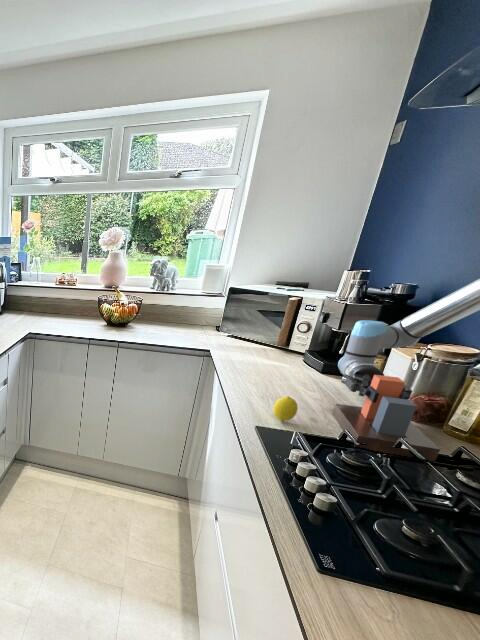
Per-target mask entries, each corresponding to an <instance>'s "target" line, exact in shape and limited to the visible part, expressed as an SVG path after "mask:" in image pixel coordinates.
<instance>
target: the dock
mask: <svg viewBox="0 0 480 640" xmlns="http://www.w3.org/2000/svg"><path fill="white" fill-rule="evenodd" d="M362 407H363V406H356V405H355V406H354V405H347V404H342V403H334V407H333V409H332V413H331V415H332V416H333V417H334V419H335V421H336V422H337V424H338V425H339V426H340V428H341V430H342V431H343V430H348V431H349V432H350V434H352V436H353V437H354V439H355V440H356V442H357V443H365V444H367V445H355V444H354V446H353V448H354V447H360V448H366V449H369V450H368V451H371V450H373V451H372V452H377V451H378V452H377V453H382V452H383V453H382V454H388V453H389V454H388V455H393V454H395V455H394V456H399V455H401V456H400V457H404V456H407V457H406V458H410V457H413V455H412V454H411V453H410V452H409V451H408V450H407V449H402V448H395V447H393V446H394V445H395V443H396V442H397V440H398V439H399V438H401V437H399V436H393V435H387V434H381V433H376V432H375V431H374V429H373V428H372V424H373V422H374V420H371V419H365V418H364V417H363V416H362V414H361V410H362ZM402 438H403V439H404V440H405V441H407V442H408V443H409V444H410V445H411V446H412V447H413V448H414V449H416V450H417V452H418V453H420V454H421V455H422V456H423V457H425V458H426V459H427V460H429V461H428V462H433V463H435V462H436V460H437V458H438V456H439V453H440V451H441V449H440V448H439V446H437V445H436V444H435V443H434V442H433V441H432V440H431V439H430V438H429V437H428V436H426V434H424V433H423V431H421V430H420V429H419V428H418V427H417V425H415V424H414V423H413V421H410V424H409V426H408V429H407V431H406V434H405V436H404V437H402ZM360 448H359V449H360Z"/></svg>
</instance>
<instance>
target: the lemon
mask: <svg viewBox="0 0 480 640" xmlns="http://www.w3.org/2000/svg"><path fill="white" fill-rule="evenodd" d="M272 408H273V409H272V412H273V415H274V416H275V418H277V419H278V420H279V421H280V422H285V421H289V420H292V419H293V418H294V417H295V416H296V415H297V413H298V403H297V401H296V400H295V399H294V398H292V397H291V396H289V395H287V396H283V397H280V398H278V399H277V400H276V401H275V403H274V405H273V407H272Z"/></svg>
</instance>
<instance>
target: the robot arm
mask: <svg viewBox="0 0 480 640" xmlns="http://www.w3.org/2000/svg"><path fill="white" fill-rule="evenodd" d="M479 311H480V278H478V279H475V281H472V282H470V283H469V284H466V285H465V286H463V287H461V288H459V289H457V290H455V291H453V292H451V293H449V294H447V295H446V296H444V297H442V298H440V299H438V300H436V301H434V302H433V303H431V304H429V305H427V306H426V307H423V308H421V309H419V310H417V311H416V312H414V313H412V314H410V315H408V316H406V317H404V318H403V319H400V320H398V321H397V322H395V323H392V324H391V325H388V324H387V323H386V322H384V321H380V320H379V321H378V320H368V319H367V320H365V319H362V320H358V321H356V322H355V324H354V326H353V328H352V330H351V333H350V337H349V339H348V343H347V347H346V350H345V352H344V355H343V356H342V357H341V358H340V359H339V360H338V362H337V367H338V370H339V372H340V374H342V378H341V381H340V382H341V384H344V385H345V386H346V387H347V389H348V390H349V391H350V392H352V393H356V392H359V393H358V396H360V397H366V396H367V397H368V398H369V399H370V400H371V401H372V402H375V403H376V401H377V399H378V396H379V393H378V392H377V391H376V390H375V389H374V388H373V387H372V386H370V385H371V382H372V379H373V377H374V375H382V376H385V373H384V372H383V371H382V370H381V369H380V368H379V367H378V366H376V365H374V363H375V361H376V358H377V356H378V353H379V350H387V349H399V348H398V347H404V348H407V346H408V347H411V346H414V345H416V344H417V343H418V342H419V341H420V339H422V338H424V337H426V336H427V335H430V334H431V333H434V332H436V331H438V330H440V329H443V328H445V327H447V326H448V325H451V324H453V323H455V322H457V321H459V320H461V319H463V318H466V317H468V316H470V315H472V314H474V313H476V312H479ZM412 393H413V390H412V389H411V388H409V387H408V386H407V385H406V384H404V386H403V389H402V392H401V394H400V397H399V399H407V400H410V398H411V396H412Z"/></svg>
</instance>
